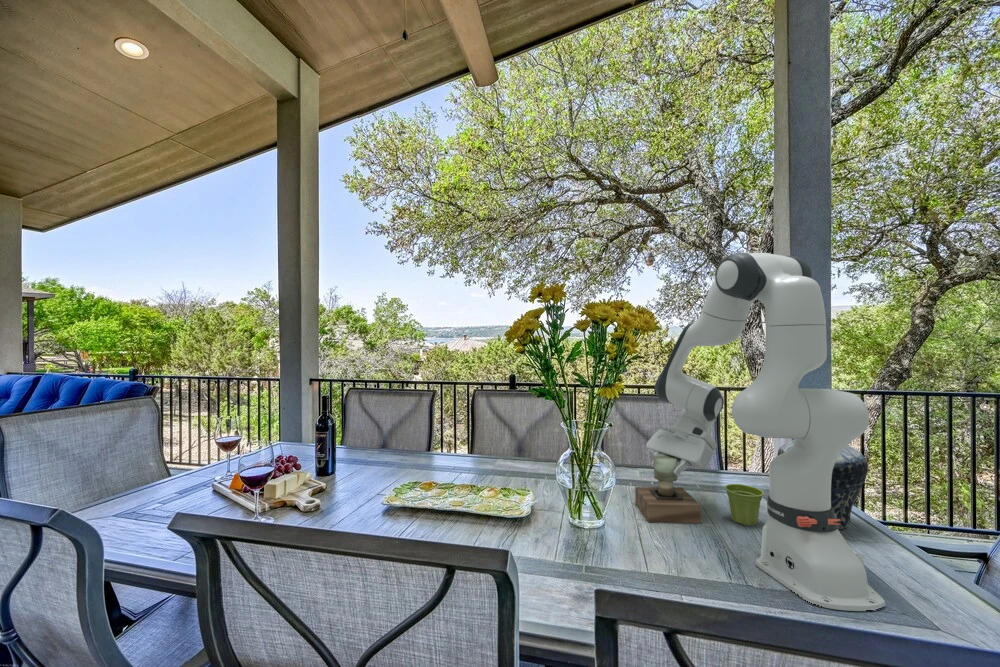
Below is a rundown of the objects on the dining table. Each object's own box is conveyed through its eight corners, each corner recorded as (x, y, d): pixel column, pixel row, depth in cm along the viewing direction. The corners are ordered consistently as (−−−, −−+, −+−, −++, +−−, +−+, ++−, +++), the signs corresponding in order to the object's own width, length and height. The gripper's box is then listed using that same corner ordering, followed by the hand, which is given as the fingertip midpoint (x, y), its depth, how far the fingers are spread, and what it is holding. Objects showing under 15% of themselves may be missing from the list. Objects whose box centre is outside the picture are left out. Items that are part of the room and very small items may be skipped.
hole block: (700, 523, 115) (700, 503, 115) (648, 522, 116) (648, 502, 116) (682, 503, 129) (681, 486, 129) (635, 503, 130) (635, 485, 130)
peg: (681, 497, 119) (680, 460, 119) (657, 497, 120) (657, 460, 120) (673, 489, 126) (672, 454, 126) (651, 489, 126) (650, 454, 126)
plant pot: (753, 514, 120) (753, 484, 121) (771, 529, 111) (771, 496, 111) (719, 513, 121) (719, 483, 121) (734, 528, 112) (733, 495, 112)
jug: (891, 540, 104) (887, 418, 105) (811, 540, 105) (808, 418, 105) (827, 507, 125) (825, 406, 126) (761, 507, 125) (759, 406, 126)
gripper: (656, 420, 135) (632, 455, 131) (711, 433, 117) (686, 473, 113) (666, 433, 137) (644, 467, 133) (722, 447, 118) (698, 487, 114)
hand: (663, 470), depth 123 cm, fingers closed on peg, 6 cm apart
